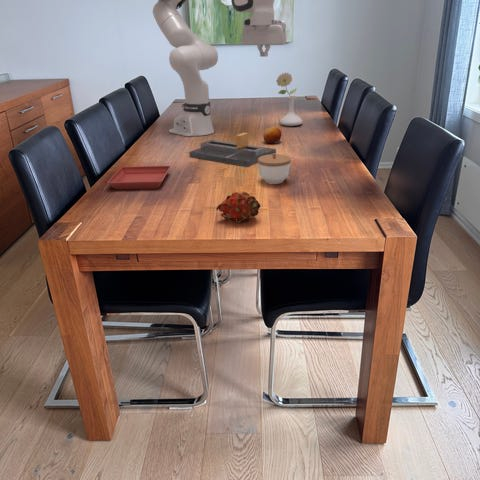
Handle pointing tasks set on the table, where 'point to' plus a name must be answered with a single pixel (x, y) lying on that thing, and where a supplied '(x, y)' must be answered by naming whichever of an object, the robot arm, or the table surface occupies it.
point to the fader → (242, 140)
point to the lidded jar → (274, 167)
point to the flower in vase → (290, 117)
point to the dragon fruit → (239, 207)
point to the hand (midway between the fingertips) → (263, 56)
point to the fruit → (272, 135)
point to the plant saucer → (139, 177)
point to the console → (230, 153)
